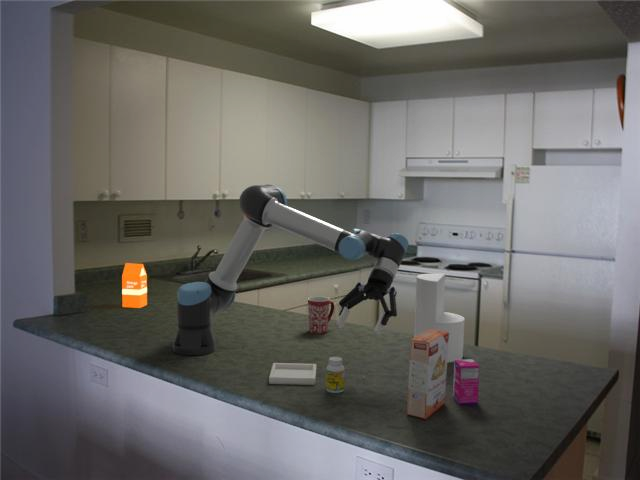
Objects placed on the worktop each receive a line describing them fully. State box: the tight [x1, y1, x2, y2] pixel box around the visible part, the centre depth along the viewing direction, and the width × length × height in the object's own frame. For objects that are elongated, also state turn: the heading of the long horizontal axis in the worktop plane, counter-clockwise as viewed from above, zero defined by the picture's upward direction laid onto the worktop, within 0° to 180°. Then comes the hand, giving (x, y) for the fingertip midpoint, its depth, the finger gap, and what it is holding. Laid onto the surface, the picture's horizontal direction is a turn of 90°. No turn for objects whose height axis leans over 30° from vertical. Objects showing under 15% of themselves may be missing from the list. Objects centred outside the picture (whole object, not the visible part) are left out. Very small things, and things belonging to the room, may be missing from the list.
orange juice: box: [121, 262, 148, 309], centre depth 283 cm, size 8×9×20 cm
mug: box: [307, 296, 335, 335], centre depth 245 cm, size 13×9×14 cm
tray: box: [268, 362, 317, 386], centre depth 190 cm, size 14×14×2 cm
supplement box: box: [452, 358, 480, 406], centre depth 172 cm, size 6×6×12 cm
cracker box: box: [406, 329, 449, 420], centre depth 165 cm, size 14×6×21 cm, turn 147°
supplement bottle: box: [325, 356, 346, 394], centre depth 179 cm, size 5×5×10 cm
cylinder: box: [413, 273, 465, 363], centre depth 215 cm, size 17×17×28 cm
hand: (357, 329), depth 186 cm, fingers open, 13 cm apart
